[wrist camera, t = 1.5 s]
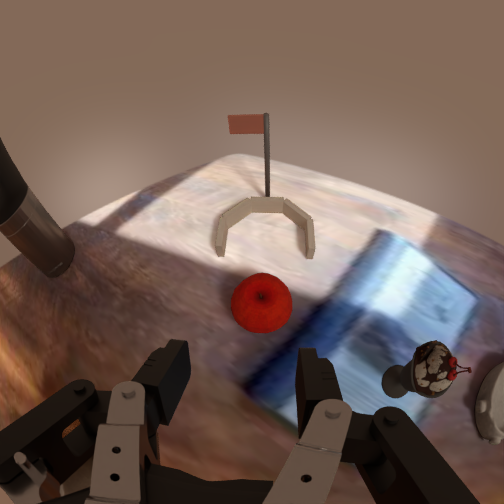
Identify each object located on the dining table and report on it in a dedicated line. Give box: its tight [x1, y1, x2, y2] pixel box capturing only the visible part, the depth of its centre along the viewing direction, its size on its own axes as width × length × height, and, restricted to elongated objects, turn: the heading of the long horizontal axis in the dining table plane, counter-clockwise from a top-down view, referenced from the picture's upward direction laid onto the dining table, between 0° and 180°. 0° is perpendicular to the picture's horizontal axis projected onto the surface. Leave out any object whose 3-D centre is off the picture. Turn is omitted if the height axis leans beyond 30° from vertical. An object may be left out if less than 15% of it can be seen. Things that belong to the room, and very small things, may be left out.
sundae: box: [382, 340, 472, 398], centre depth 25 cm, size 7×7×15 cm
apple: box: [231, 273, 292, 333], centre depth 35 cm, size 8×8×7 cm
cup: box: [215, 113, 315, 259], centre depth 39 cm, size 13×15×18 cm
